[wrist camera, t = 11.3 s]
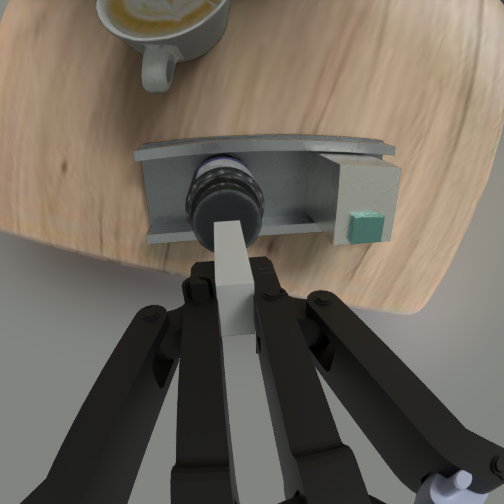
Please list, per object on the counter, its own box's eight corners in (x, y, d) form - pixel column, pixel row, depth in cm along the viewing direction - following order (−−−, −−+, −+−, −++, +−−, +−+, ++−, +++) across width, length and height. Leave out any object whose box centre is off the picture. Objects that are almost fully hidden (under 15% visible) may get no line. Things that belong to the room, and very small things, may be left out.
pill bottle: (234, 220, 31) (244, 277, 21) (181, 196, 29) (166, 243, 19) (263, 170, 28) (289, 205, 19) (209, 143, 26) (206, 162, 17)
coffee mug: (150, -21, 17) (128, -64, 9) (240, -6, 20) (253, -50, 11) (107, 86, 23) (62, 80, 14) (197, 104, 25) (189, 100, 17)
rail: (142, 143, 26) (111, 160, 18) (379, 139, 29) (431, 155, 21) (154, 232, 31) (134, 279, 23) (370, 218, 34) (413, 255, 25)
